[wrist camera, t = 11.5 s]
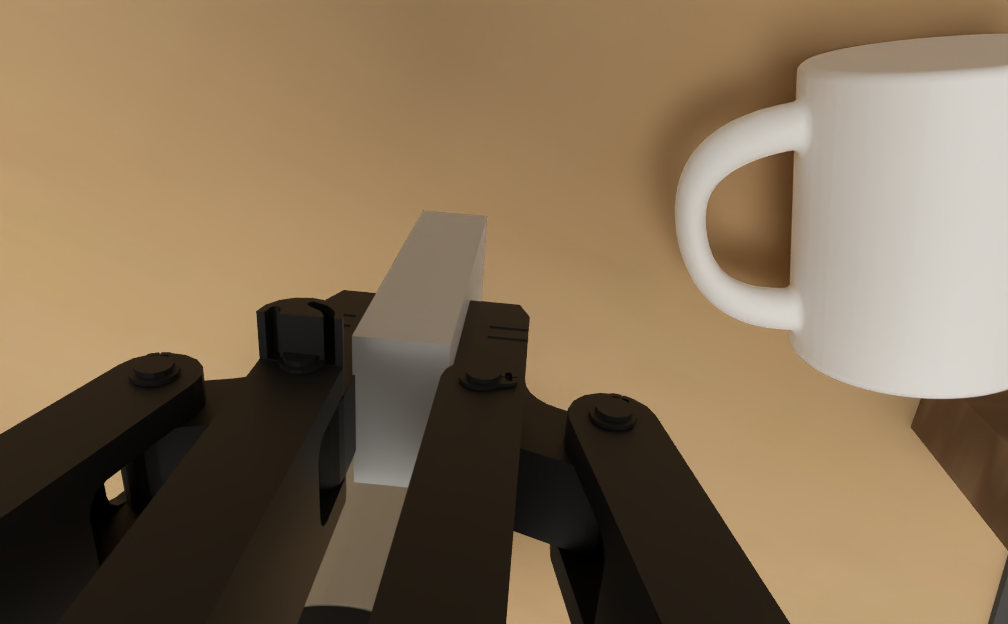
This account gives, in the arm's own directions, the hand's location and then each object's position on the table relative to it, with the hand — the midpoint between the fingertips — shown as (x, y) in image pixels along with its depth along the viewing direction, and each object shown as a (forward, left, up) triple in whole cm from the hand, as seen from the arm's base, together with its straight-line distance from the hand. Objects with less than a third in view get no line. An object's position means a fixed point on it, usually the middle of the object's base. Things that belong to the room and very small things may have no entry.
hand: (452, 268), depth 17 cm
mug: (0, +13, -12) cm, 18 cm away
